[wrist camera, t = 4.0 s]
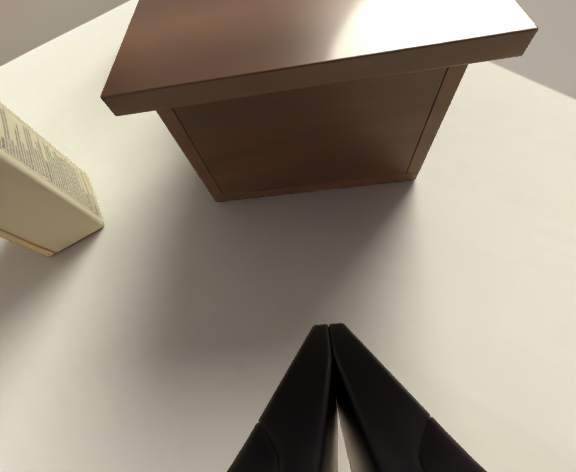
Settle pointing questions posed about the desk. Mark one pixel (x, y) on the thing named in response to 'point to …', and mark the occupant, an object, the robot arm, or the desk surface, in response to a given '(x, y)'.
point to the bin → (315, 134)
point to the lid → (298, 45)
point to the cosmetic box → (41, 191)
